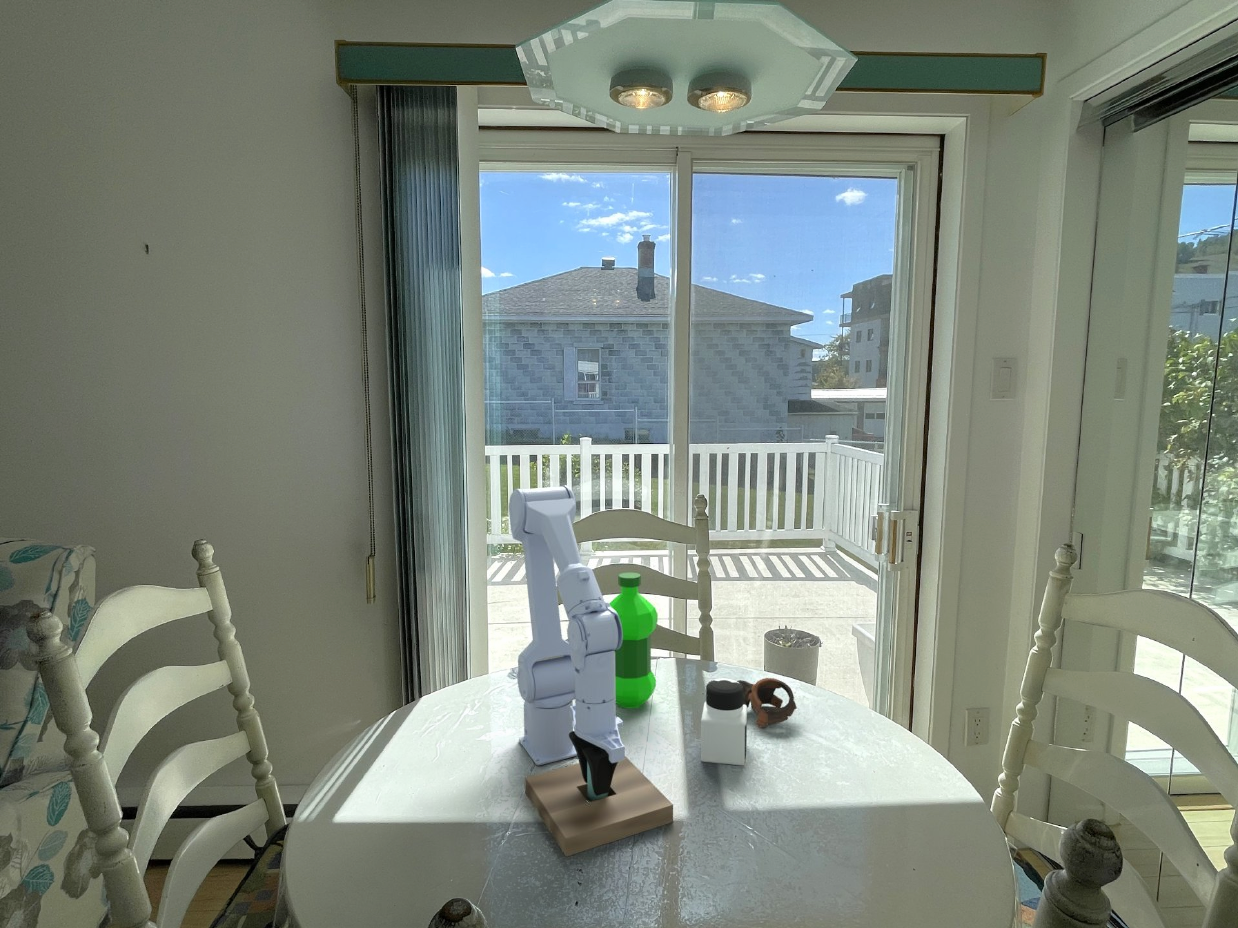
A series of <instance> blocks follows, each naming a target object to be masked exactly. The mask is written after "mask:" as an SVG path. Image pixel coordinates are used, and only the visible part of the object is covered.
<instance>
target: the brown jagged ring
mask: <svg viewBox="0 0 1238 928" xmlns="http://www.w3.org/2000/svg"><path fill="white" fill-rule="evenodd" d="M736 681H737V682H738V683H740V684H741V685H742V686H743V705H746V706H747V709H748V708H749V706H750V707H751V709H753V710H754V711H755V712H756V713H757V717H756V719H755V725H756V726H758V727H759V728H761V729H764V728H765V727H767V725H769V726H772V725H775V724H779V723H782V722H784V721H787V720H788V719H789V718H790V717H792V715H793V713H794V712H795V710H796V709H797V707H798V706H797V704H796V702H795V697H794V693H793V690H792V688H791V687H790V686H789V685H788V684H787V683H786V682H784V681H782V680H779V679H778V678H772V677H765V678H762V679H759V680H757V682H755V683H754V684H753V683H750V682H749V681H746V680H741V679H739V680H736ZM781 688H782V689H783V690H784V691H785V692H786V694H787V696H788V702H787V703H786V705H784V706H782V704H783V702H784V700H783V699H782V698H780V697H778V696H777V695H776V694H775V691H776V689H781ZM763 705H771V706H773V707H770V706H768V707H767V710H765V709H763V707H762V706H763Z"/></svg>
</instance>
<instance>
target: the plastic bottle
mask: <svg viewBox="0 0 1238 928" xmlns="http://www.w3.org/2000/svg"><path fill="white" fill-rule="evenodd" d="M617 576H618V578H617V579H618V580H617V584H618V585H617V586H619V587H620V593H619V594H618V595H617V596H616V597H614V598H613V599H612V600H611V601H610V602H608V603H609V604H610V606H611V607H612V608H613V609H614V610H615V611H616V612H617V614H618V615H619V619H620V621H621V625H622V631H623V640H622V645H621V647H620V648H619V649H615V650H614V651H615V698H616V704H617V706H618V707H620V708H621V707H622V708H624V709H636V708H639V707H643V705H644V704H645V703H646V702H648V700H649V699H650V698H651V697H652V695H653V694H654V692H655V689H656V686H657V679H656V677H655V673H653V671H652V658H651V657H652V646H651V645H652V643H651V642H652V636H651V635H652V633H653V632H654V631H655V629H656V628H657V624H658V612H657V609H656V607H655V606H654V605H653V604H652V603H651V602H650V601H649V600H648V599H646V598H645V597H644V596H642V595H641V594H640V593H639V587H640V586H641V585H642V574H640V573H637V572H623V573H619V574H618V575H617Z"/></svg>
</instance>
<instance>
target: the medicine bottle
mask: <svg viewBox="0 0 1238 928" xmlns="http://www.w3.org/2000/svg"><path fill="white" fill-rule="evenodd" d="M737 681H738V680H734V679H730V678H716V679H712V680H710V681H709V682H708V683H706V686H705V701H704V703H703V708H702V713H701V714H702V715H701V720H700V761H701V762H705V763H712V764H723V765H734V766H742V767H743V766H745V765H747V747H748V746H747V741H748V740H747V737H748V735H747V734H748V730H747V728H748V708H747V706H746V705H743V686H742V685H741V684H740V683H738V682H737Z"/></svg>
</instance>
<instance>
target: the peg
mask: <svg viewBox="0 0 1238 928" xmlns="http://www.w3.org/2000/svg"><path fill="white" fill-rule="evenodd" d="M587 796H588V800H587V801H588V802H592V801H596V800H599V799H603V798H606V797H608V793H605V794H601V795H598V796H596V795H595V794H594V791H593V787H592V780H591V773H590V768H589V765H588V762H587Z"/></svg>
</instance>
